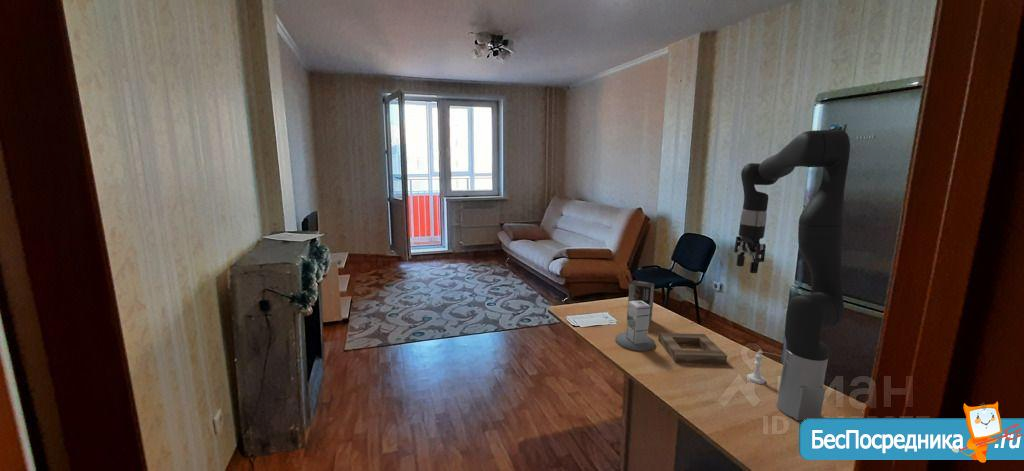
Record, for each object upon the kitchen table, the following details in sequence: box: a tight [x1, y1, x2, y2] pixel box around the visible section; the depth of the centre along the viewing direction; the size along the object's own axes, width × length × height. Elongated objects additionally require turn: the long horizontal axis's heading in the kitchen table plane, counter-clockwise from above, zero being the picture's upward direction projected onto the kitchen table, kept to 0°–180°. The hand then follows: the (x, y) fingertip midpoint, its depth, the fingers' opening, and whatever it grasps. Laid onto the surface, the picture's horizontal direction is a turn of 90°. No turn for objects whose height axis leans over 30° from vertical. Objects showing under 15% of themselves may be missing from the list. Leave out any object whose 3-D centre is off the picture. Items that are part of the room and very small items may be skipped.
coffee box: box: [626, 280, 655, 324], centre depth 172 cm, size 9×6×16 cm
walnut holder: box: [658, 332, 728, 365], centre depth 145 cm, size 17×17×3 cm
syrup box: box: [626, 300, 650, 344], centre depth 150 cm, size 6×6×14 cm
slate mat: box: [614, 331, 656, 352], centre depth 152 cm, size 14×14×1 cm
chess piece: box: [746, 349, 766, 385], centre depth 127 cm, size 5×5×10 cm
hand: (746, 269), depth 142 cm, fingers open, 8 cm apart
